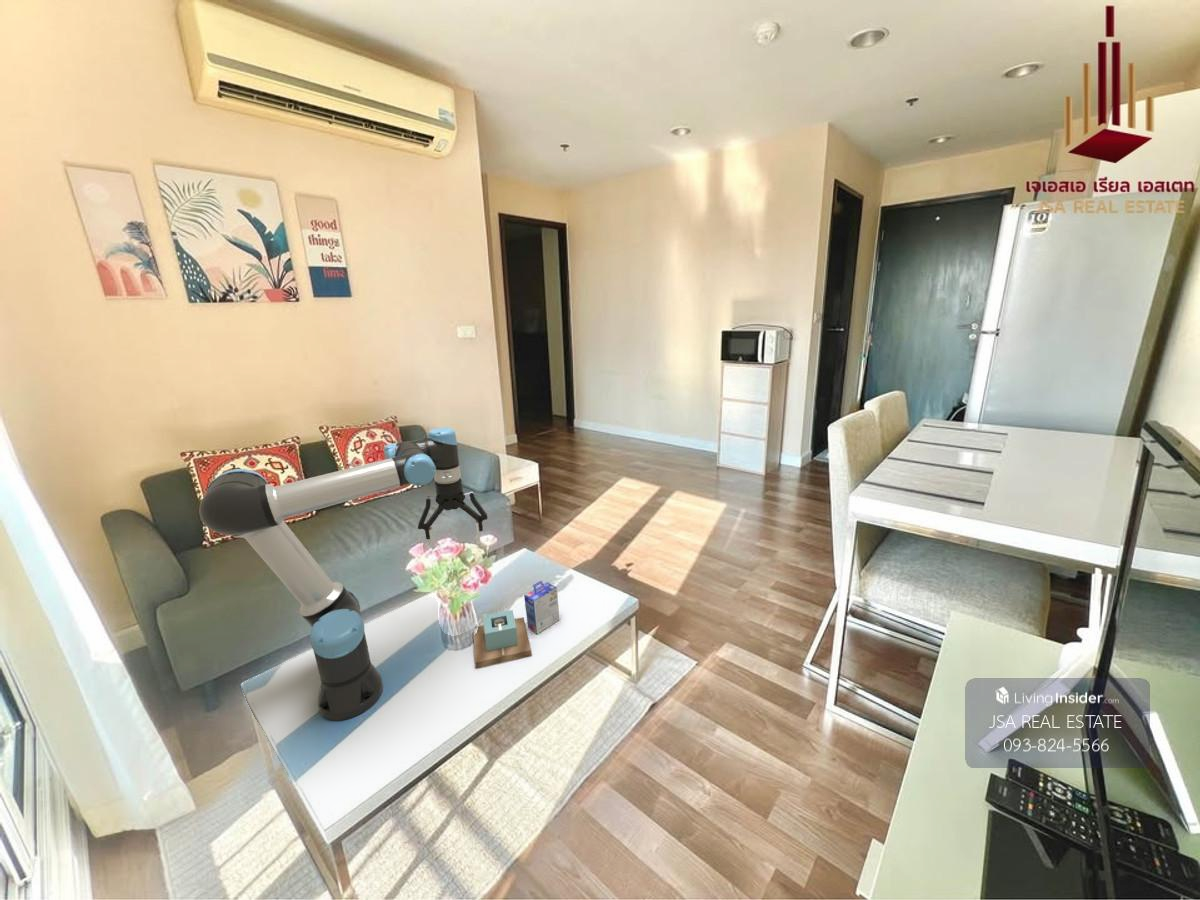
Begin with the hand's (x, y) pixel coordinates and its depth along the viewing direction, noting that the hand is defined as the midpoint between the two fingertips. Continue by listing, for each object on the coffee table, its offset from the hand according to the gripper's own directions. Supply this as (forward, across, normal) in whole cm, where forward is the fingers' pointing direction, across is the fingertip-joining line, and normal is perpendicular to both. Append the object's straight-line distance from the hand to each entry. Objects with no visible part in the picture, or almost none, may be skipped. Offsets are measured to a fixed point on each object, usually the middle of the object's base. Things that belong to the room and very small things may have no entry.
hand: (456, 544), depth 143 cm
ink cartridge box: (+29, +24, -8) cm, 39 cm away
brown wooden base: (+29, +10, -14) cm, 33 cm away
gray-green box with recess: (+27, +10, -14) cm, 32 cm away
